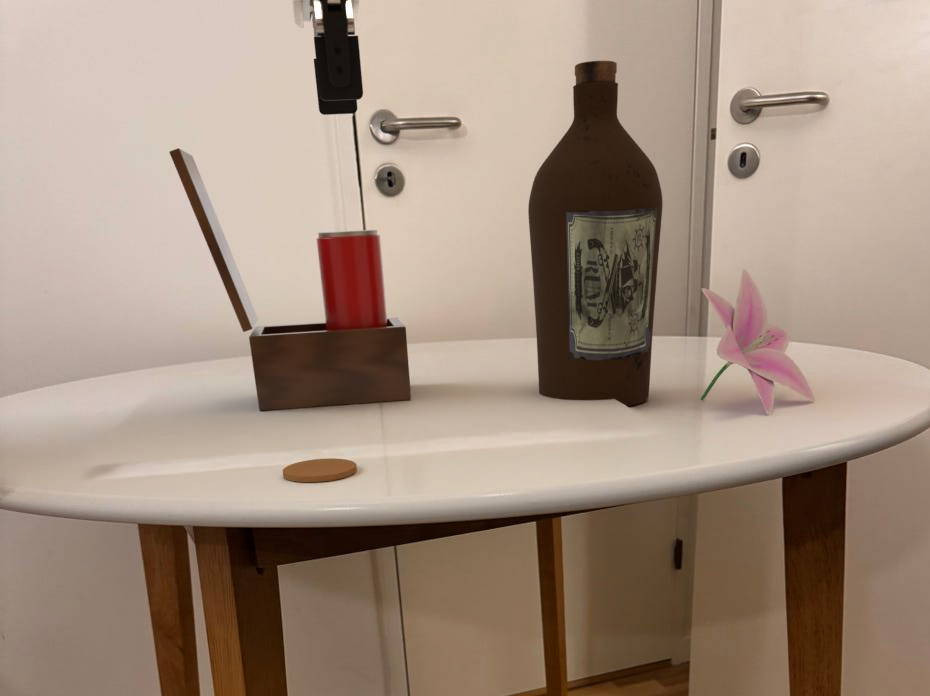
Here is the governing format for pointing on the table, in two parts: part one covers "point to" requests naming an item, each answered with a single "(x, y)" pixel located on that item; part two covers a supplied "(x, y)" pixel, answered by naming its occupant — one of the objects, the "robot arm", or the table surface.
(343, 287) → the can
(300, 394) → the dark wooden box
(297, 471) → the pad
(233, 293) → the lid
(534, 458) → the table surface
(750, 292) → the lily
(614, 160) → the brown liquor bottle
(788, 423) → the table surface
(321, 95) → the robot arm
